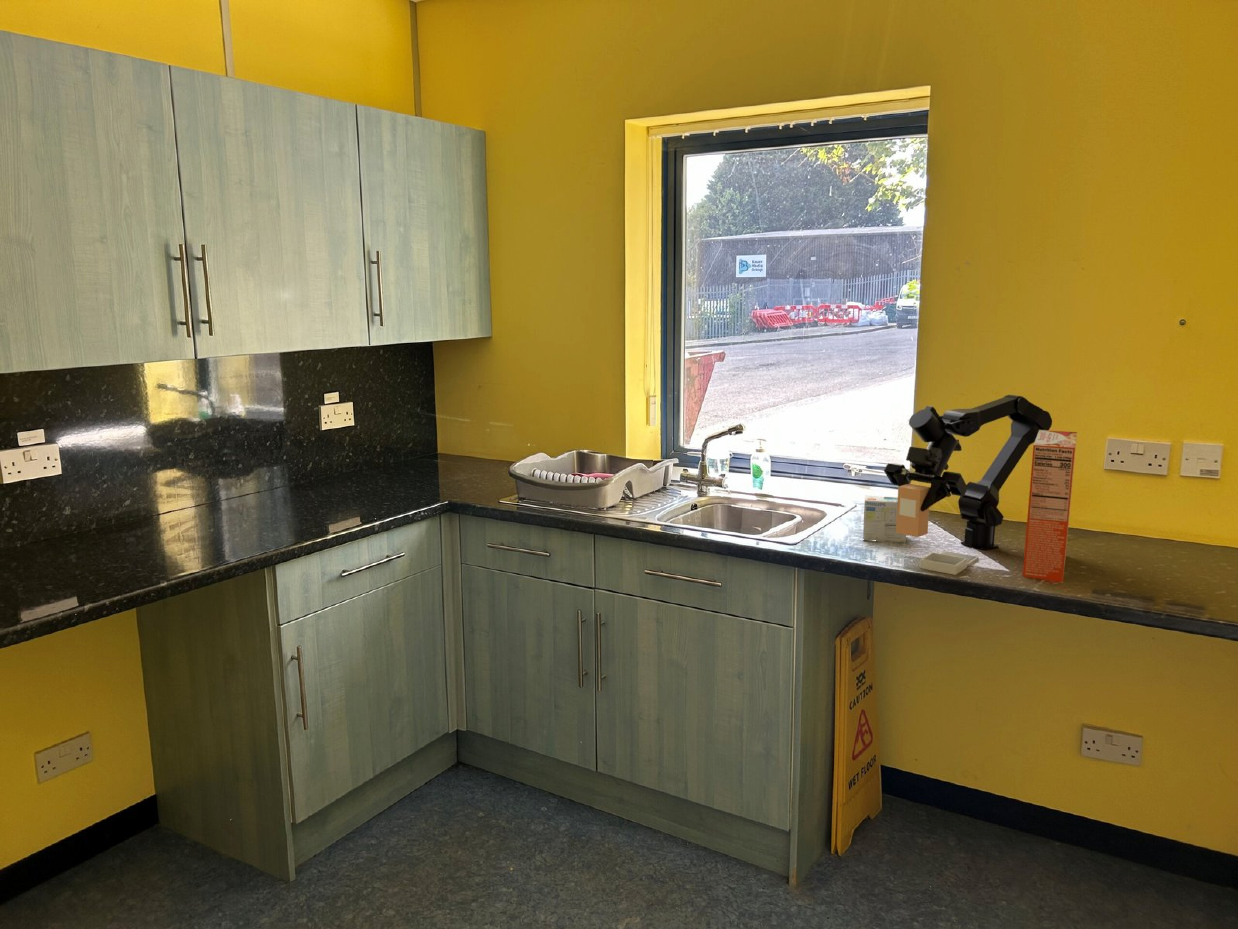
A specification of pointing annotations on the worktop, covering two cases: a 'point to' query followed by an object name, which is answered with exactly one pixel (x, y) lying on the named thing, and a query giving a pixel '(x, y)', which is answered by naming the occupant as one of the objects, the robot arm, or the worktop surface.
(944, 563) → the case
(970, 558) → the case lid
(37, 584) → the worktop surface
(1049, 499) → the orange cereal box
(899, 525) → the block
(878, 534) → the light bulb box
